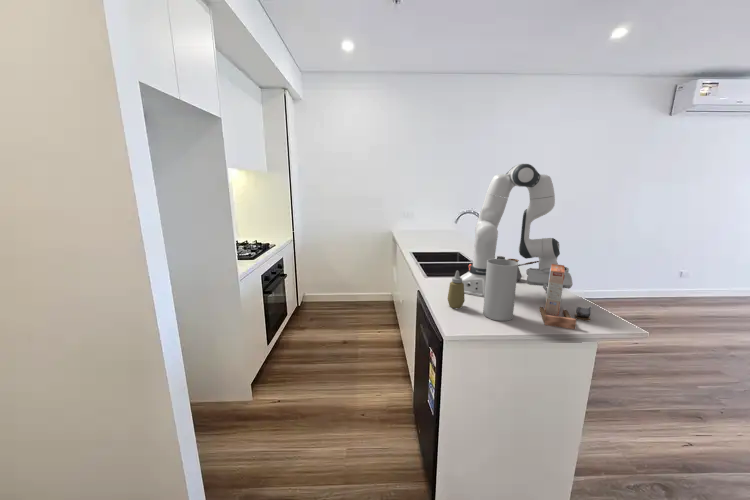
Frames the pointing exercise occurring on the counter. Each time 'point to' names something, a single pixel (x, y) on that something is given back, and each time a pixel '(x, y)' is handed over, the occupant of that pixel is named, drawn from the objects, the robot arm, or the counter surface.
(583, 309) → the winch drum
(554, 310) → the cracker box
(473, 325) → the counter surface
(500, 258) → the supplement bottle
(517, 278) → the coffee pot
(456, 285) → the squeeze bottle
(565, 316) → the bay
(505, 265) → the cylinder vase
